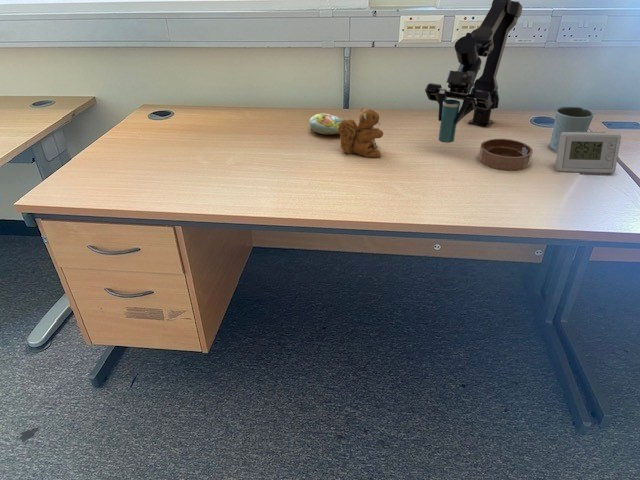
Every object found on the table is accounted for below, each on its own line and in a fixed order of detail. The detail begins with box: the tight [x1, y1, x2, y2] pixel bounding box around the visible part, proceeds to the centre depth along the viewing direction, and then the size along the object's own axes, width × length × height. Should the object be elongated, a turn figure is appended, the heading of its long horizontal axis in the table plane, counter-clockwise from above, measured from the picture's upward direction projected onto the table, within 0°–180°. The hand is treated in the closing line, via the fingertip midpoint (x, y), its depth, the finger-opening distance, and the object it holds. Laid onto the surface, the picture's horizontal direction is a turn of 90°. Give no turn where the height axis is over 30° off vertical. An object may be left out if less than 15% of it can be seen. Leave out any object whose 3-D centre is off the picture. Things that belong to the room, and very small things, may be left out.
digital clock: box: [554, 131, 622, 175], centre depth 127 cm, size 16×9×11 cm, turn 72°
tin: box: [438, 98, 461, 144], centre depth 134 cm, size 5×5×12 cm
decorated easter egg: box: [308, 113, 343, 136], centre depth 157 cm, size 11×8×15 cm
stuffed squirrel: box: [337, 108, 384, 158], centre depth 140 cm, size 10×14×13 cm
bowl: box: [478, 138, 534, 172], centre depth 134 cm, size 14×14×4 cm
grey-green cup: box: [549, 105, 595, 152], centre depth 139 cm, size 10×10×12 cm
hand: (447, 122), depth 133 cm, fingers closed on tin, 4 cm apart
